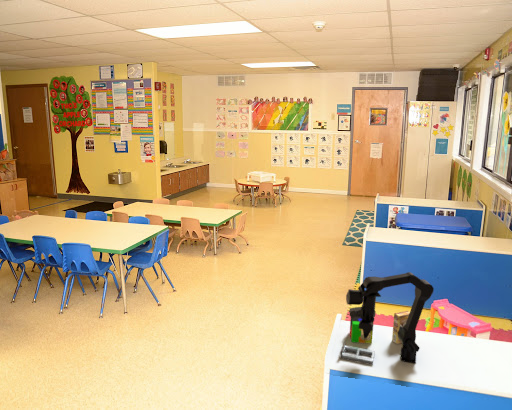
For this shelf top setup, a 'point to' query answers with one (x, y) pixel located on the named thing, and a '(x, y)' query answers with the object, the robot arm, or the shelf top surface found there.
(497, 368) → the shelf top surface
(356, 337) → the puzzle toy
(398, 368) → the shelf top surface
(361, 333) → the gold metal cylinder
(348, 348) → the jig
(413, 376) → the shelf top surface
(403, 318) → the candy box
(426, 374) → the shelf top surface
